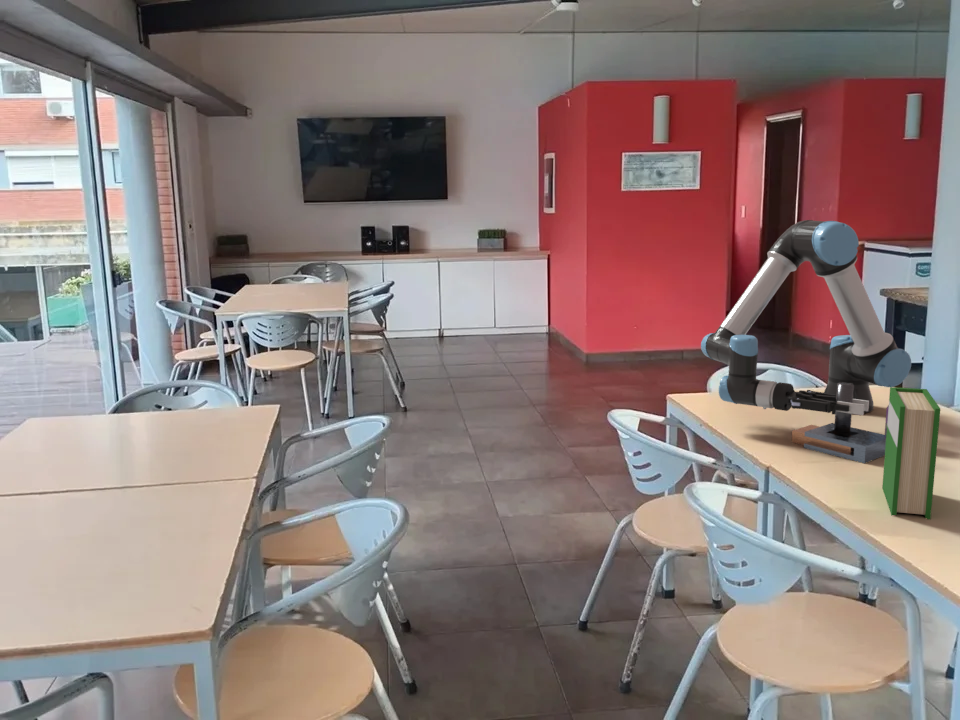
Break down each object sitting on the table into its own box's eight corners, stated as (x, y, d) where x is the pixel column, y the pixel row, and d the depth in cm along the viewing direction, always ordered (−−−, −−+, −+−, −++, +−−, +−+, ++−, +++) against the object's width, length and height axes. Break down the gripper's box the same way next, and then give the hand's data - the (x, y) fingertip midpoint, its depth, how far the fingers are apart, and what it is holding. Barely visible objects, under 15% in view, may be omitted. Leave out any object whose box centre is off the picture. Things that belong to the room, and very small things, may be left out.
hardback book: (930, 519, 178) (940, 408, 173) (891, 515, 181) (900, 406, 176) (917, 490, 194) (926, 389, 190) (882, 487, 197) (890, 387, 192)
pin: (838, 432, 227) (842, 381, 225) (853, 436, 224) (856, 384, 221) (830, 435, 225) (834, 384, 222) (844, 438, 222) (848, 386, 219)
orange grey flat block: (787, 443, 231) (788, 427, 230) (814, 434, 239) (815, 419, 238) (864, 463, 214) (865, 446, 213) (891, 453, 221) (892, 436, 220)
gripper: (785, 402, 241) (873, 415, 227) (764, 415, 228) (855, 429, 214) (787, 376, 240) (875, 387, 225) (765, 388, 227) (858, 400, 212)
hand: (865, 408), depth 220 cm, fingers closed on pin, 4 cm apart
